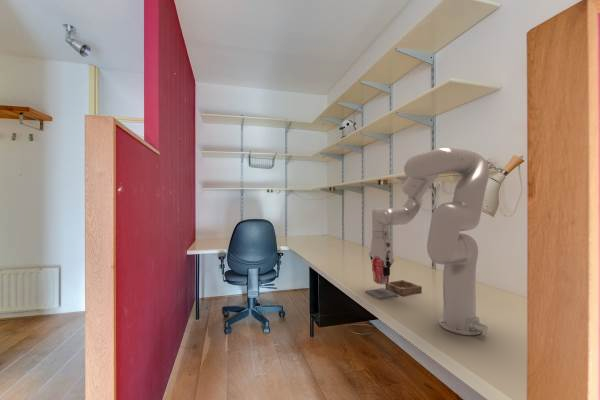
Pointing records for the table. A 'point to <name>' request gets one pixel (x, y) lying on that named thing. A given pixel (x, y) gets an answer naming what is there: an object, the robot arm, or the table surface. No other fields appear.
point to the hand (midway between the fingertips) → (380, 273)
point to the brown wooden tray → (406, 291)
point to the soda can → (379, 271)
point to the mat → (381, 293)
